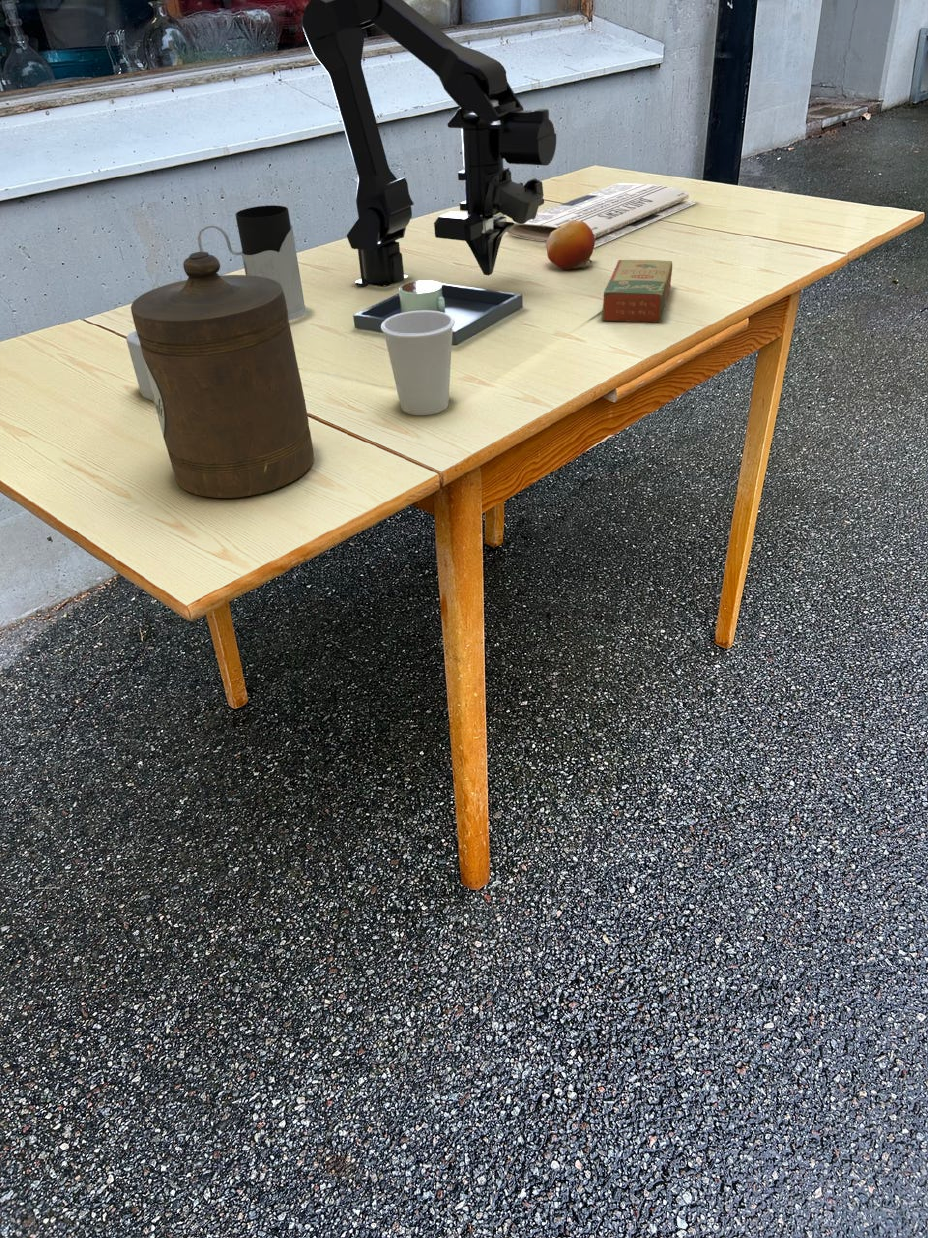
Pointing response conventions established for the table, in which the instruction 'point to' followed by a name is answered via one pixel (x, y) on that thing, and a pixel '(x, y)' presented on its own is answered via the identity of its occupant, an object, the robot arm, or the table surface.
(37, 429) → the table surface
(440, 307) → the teacup
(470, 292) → the tray
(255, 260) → the glass holder
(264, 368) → the wooden container
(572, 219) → the newspaper
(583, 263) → the fruit
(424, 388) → the dixie cup
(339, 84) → the robot arm
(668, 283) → the carton
